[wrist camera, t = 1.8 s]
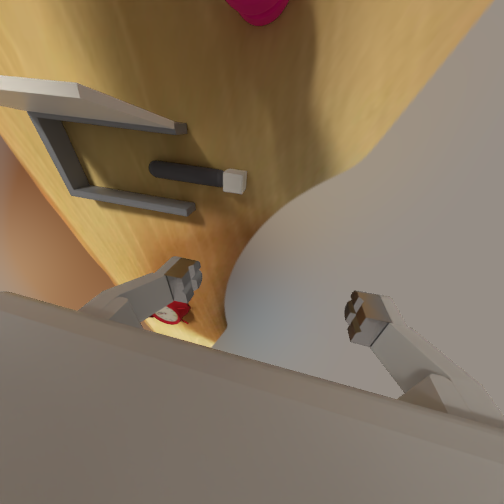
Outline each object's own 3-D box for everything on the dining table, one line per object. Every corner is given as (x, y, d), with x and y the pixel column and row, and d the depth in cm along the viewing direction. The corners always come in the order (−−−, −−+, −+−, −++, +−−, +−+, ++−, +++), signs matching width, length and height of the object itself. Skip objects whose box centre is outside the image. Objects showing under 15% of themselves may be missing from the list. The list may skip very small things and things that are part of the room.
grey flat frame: (48, 106, 26) (23, 105, 24) (186, 123, 24) (174, 123, 22) (87, 190, 34) (71, 195, 32) (195, 209, 31) (187, 216, 29)
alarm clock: (189, 329, 50) (134, 327, 49) (194, 310, 55) (144, 308, 54) (184, 306, 44) (121, 304, 43) (190, 287, 49) (134, 284, 48)
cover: (25, 110, 24) (23, 103, 24) (174, 129, 22) (174, 121, 22) (-155, 72, 14) (-165, 59, 14) (80, 98, 12) (76, 82, 12)
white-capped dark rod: (157, 175, 29) (146, 179, 27) (153, 157, 28) (141, 160, 26) (246, 188, 28) (241, 194, 26) (247, 170, 26) (242, 175, 24)
